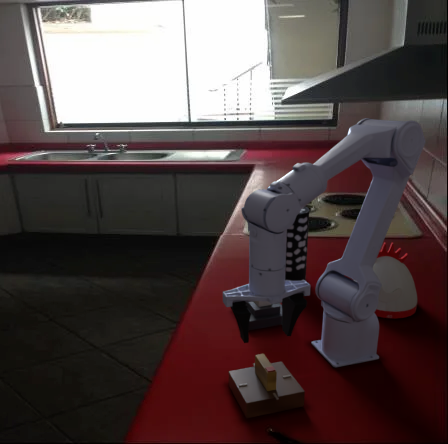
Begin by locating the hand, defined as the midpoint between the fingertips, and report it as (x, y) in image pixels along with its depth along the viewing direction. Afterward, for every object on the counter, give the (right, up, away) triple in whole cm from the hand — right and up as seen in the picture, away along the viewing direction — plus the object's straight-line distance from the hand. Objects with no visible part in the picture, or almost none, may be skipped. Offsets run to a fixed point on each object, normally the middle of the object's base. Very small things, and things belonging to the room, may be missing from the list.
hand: (265, 336), depth 72 cm
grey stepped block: (+5, -2, +23) cm, 23 cm away
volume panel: (0, -10, -1) cm, 10 cm away
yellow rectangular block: (0, -7, -2) cm, 7 cm away
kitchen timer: (+34, +1, +26) cm, 42 cm away
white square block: (+5, +1, +22) cm, 22 cm away
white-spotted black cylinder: (+16, +4, +38) cm, 41 cm away
